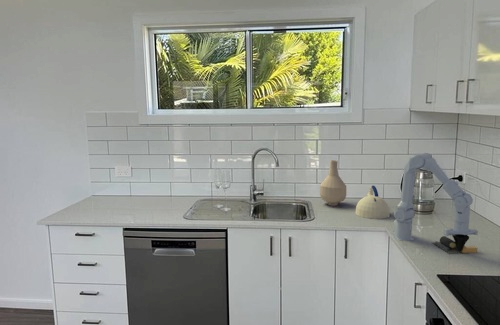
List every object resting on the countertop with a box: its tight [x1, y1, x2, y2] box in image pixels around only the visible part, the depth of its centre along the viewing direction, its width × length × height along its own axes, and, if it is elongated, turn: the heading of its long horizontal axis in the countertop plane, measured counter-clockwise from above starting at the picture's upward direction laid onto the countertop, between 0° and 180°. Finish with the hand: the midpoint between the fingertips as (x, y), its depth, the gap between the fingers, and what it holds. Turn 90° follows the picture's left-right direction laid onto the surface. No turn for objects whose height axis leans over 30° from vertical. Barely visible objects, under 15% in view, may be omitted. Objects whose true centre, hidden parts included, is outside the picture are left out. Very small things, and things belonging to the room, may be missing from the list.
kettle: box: [355, 185, 390, 220], centre depth 232 cm, size 20×21×18 cm
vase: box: [319, 160, 347, 207], centre depth 256 cm, size 18×18×30 cm
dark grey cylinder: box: [439, 235, 456, 250], centre depth 176 cm, size 7×4×4 cm, turn 5°
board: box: [431, 240, 470, 255], centre depth 171 cm, size 24×10×2 cm, turn 5°
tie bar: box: [460, 245, 478, 254], centre depth 170 cm, size 2×7×3 cm, turn 95°
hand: (459, 250), depth 169 cm, fingers closed
